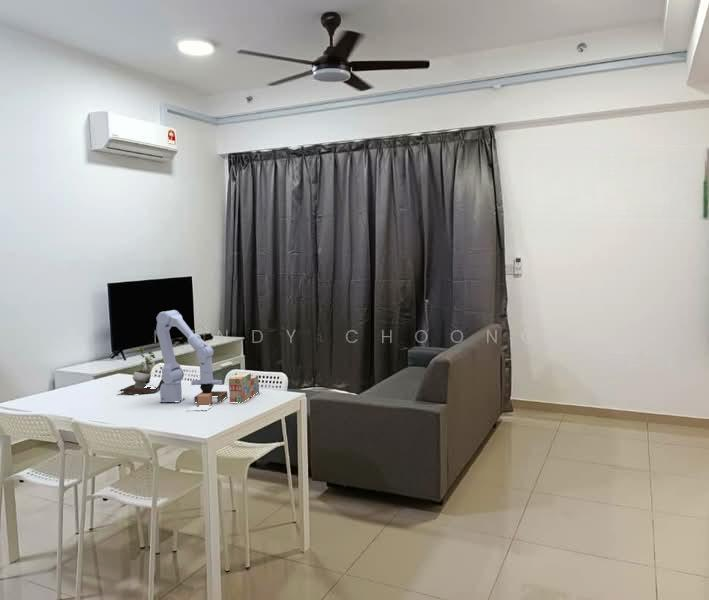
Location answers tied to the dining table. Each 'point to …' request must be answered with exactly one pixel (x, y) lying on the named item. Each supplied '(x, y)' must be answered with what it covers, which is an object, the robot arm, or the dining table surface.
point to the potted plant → (142, 377)
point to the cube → (204, 399)
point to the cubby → (220, 395)
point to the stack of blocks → (243, 387)
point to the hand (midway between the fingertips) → (207, 399)
